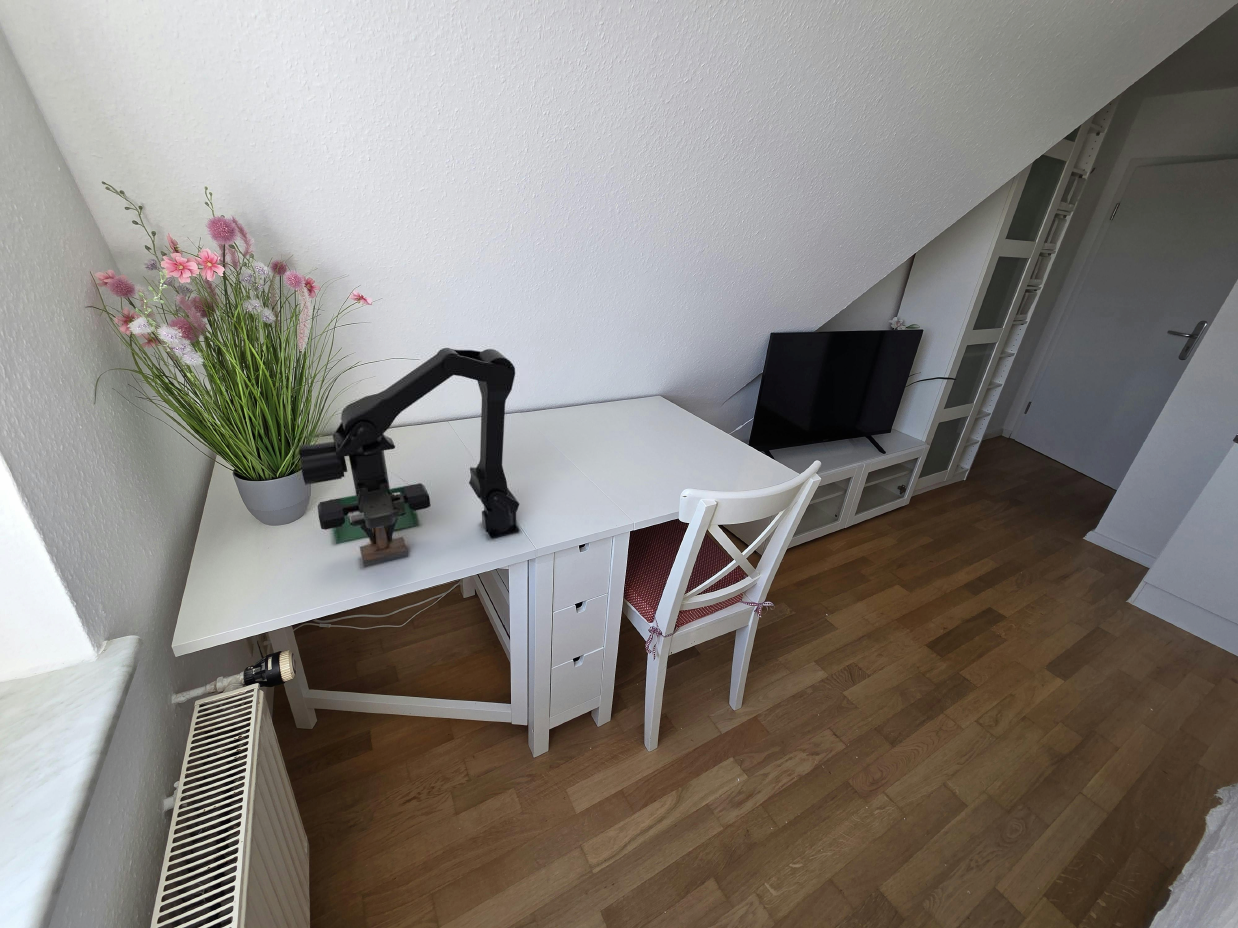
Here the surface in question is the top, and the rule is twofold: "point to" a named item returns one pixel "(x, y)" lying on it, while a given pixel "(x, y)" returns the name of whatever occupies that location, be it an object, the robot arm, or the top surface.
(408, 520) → the dustpan
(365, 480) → the robot arm
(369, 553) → the brush
